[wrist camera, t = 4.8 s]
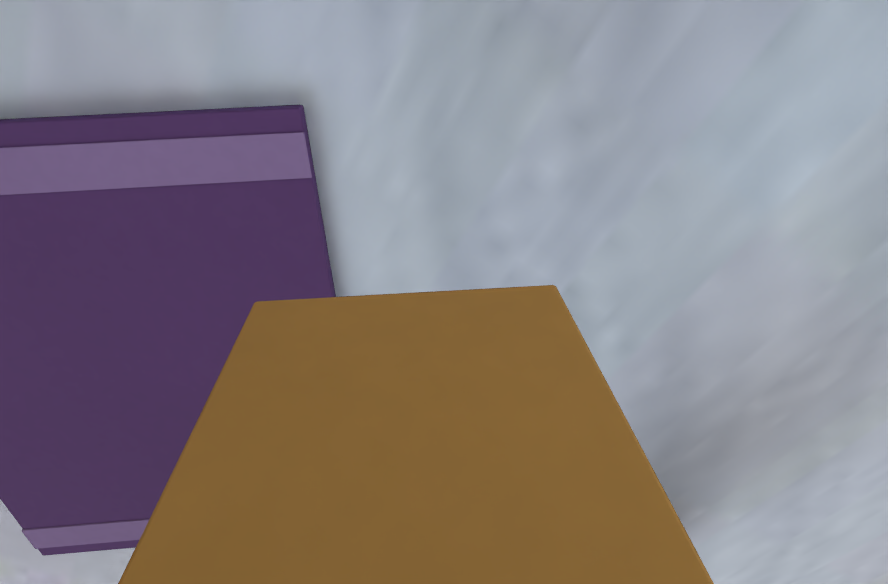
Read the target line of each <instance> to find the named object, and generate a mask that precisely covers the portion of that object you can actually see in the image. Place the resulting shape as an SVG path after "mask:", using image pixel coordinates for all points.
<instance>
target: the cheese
mask: <svg viewBox="0 0 888 584" xmlns="http://www.w3.org/2000/svg"><path fill="white" fill-rule="evenodd" d="M118 584H714V583H713V581H712V580H711V578H710V576H709V574H708V572H707V570H706V568H705V566H704V565H703V563H702V561H701V559H700V557H699V555H698V553H697V551H696V549H695V548H694V546H693V544H692V542H691V540H690V538H689V536H688V534H687V532H686V531H685V529H684V527H683V525H682V523H681V521H680V519H679V517H678V516H677V514H676V512H675V510H674V508H673V506H672V504H671V502H670V500H669V499H668V497H667V495H666V493H665V491H664V489H663V487H662V485H661V483H660V482H659V480H658V478H657V476H656V474H655V472H654V470H653V468H652V467H651V465H650V463H649V461H648V459H647V457H646V455H645V453H644V451H643V450H642V448H641V446H640V444H639V442H638V440H637V438H636V436H635V435H634V433H633V431H632V429H631V427H630V425H629V423H628V421H627V419H626V418H625V416H624V414H623V412H622V410H621V408H620V406H619V404H618V402H617V401H616V399H615V397H614V395H613V393H612V391H611V389H610V387H609V386H608V384H607V382H606V380H605V378H604V376H603V374H602V372H601V370H600V369H599V367H598V365H597V363H596V361H595V359H594V357H593V355H592V354H591V352H590V350H589V348H588V346H587V344H586V342H585V340H584V338H583V337H582V335H581V333H580V331H579V329H578V327H577V325H576V323H575V321H574V320H573V318H572V316H571V314H570V312H569V310H568V308H567V306H566V305H565V303H564V301H563V299H562V297H561V295H560V293H559V291H558V289H557V288H556V286H554V285H546V286H528V287H510V288H492V289H473V290H455V291H437V292H419V293H401V294H383V295H365V296H347V297H328V298H310V299H292V300H274V301H257V302H255V303H254V304H253V306H252V309H251V311H250V313H249V315H248V317H247V319H246V321H245V323H244V325H243V327H242V329H241V331H240V333H239V335H238V337H237V340H236V342H235V344H234V346H233V348H232V350H231V352H230V354H229V356H228V358H227V360H226V362H225V364H224V366H223V368H222V371H221V373H220V375H219V377H218V379H217V381H216V383H215V385H214V387H213V389H212V391H211V393H210V395H209V397H208V399H207V402H206V404H205V406H204V408H203V410H202V412H201V414H200V416H199V418H198V420H197V422H196V424H195V426H194V428H193V430H192V433H191V435H190V437H189V439H188V441H187V443H186V445H185V447H184V449H183V451H182V453H181V455H180V457H179V459H178V461H177V464H176V466H175V468H174V470H173V472H172V474H171V476H170V478H169V480H168V482H167V484H166V486H165V488H164V490H163V492H162V495H161V497H160V499H159V501H158V503H157V505H156V507H155V509H154V511H153V513H152V515H151V517H150V519H149V521H148V523H147V526H146V528H145V530H144V532H143V534H142V536H141V538H140V540H139V542H138V544H137V546H136V548H135V550H134V552H133V554H132V557H131V559H130V561H129V563H128V565H127V567H126V569H125V571H124V573H123V575H122V577H121V579H120V581H119V583H118Z"/></svg>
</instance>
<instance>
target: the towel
mask: <svg viewBox="0 0 888 584" xmlns="http://www.w3.org/2000/svg"><path fill="white" fill-rule="evenodd" d="M328 297H336V296H335V290H334V284H333V278H332V273H331V267H330V261H329V255H328V249H327V243H326V237H325V231H324V225H323V220H322V214H321V208H320V202H319V196H318V190H317V184H316V178H315V172H314V167H313V161H312V155H311V149H310V143H309V137H308V131H307V125H306V120H305V114H304V108H303V106H302V105H286V106H266V107H246V108H225V109H205V110H184V111H164V112H144V113H123V114H103V115H82V116H62V117H41V118H21V119H1V120H0V499H1V500H2V502H3V503H4V504H5V506H6V507H7V508H8V510H9V511H10V512H11V514H12V515H13V516H14V518H15V519H16V520H17V522H18V523H19V524H20V526H21V527H22V528H23V529H22V532H23V533H24V535H25V536H26V537H27V539H28V540H29V541H30V543H31V544H32V545H33V547H34V548H35V549H39V551H40V552H41V553H42V555H54V554H65V553H77V552H88V551H99V550H111V549H122V548H134V547H136V546H137V544H138V542H139V540H140V538H141V536H142V534H143V532H144V530H145V528H146V526H147V523H148V521H149V519H150V517H151V515H152V513H153V511H154V509H155V507H156V505H157V503H158V501H159V499H160V497H161V495H162V492H163V490H164V488H165V486H166V484H167V482H168V480H169V478H170V476H171V474H172V472H173V470H174V468H175V466H176V464H177V461H178V459H179V457H180V455H181V453H182V451H183V449H184V447H185V445H186V443H187V441H188V439H189V437H190V435H191V433H192V430H193V428H194V426H195V424H196V422H197V420H198V418H199V416H200V414H201V412H202V410H203V408H204V406H205V404H206V402H207V399H208V397H209V395H210V393H211V391H212V389H213V387H214V385H215V383H216V381H217V379H218V377H219V375H220V373H221V371H222V368H223V366H224V364H225V362H226V360H227V358H228V356H229V354H230V352H231V350H232V348H233V346H234V344H235V342H236V340H237V337H238V335H239V333H240V331H241V329H242V327H243V325H244V323H245V321H246V319H247V317H248V315H249V313H250V311H251V309H252V306H253V304H254V303H255V302H257V301H274V300H292V299H310V298H328Z"/></svg>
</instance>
